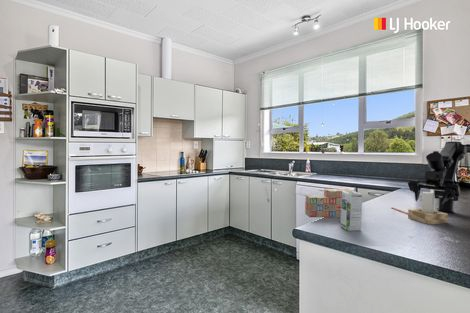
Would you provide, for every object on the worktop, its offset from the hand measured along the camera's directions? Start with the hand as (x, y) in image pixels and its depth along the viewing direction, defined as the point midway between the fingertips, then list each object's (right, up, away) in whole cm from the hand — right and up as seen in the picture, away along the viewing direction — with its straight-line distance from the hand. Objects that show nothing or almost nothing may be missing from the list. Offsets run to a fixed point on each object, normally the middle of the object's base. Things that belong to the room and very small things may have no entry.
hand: (428, 202), depth 115 cm
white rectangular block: (-1, -8, 0) cm, 8 cm away
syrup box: (-40, -8, -13) cm, 43 cm away
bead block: (-1, -8, 0) cm, 8 cm away
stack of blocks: (-42, -8, +6) cm, 43 cm away
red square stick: (-2, -7, +15) cm, 17 cm away
